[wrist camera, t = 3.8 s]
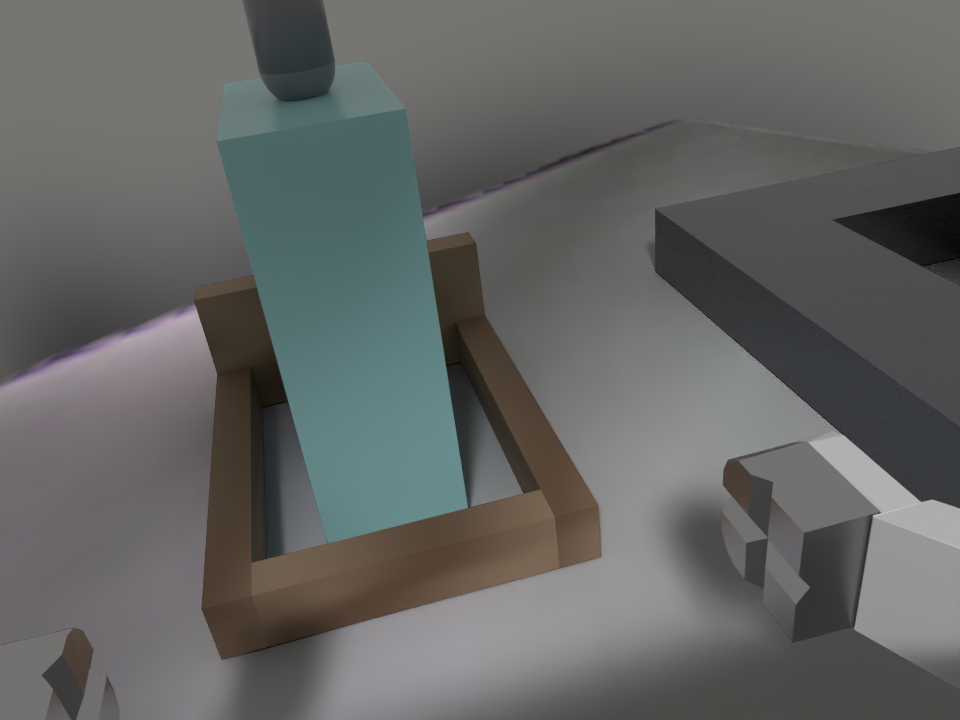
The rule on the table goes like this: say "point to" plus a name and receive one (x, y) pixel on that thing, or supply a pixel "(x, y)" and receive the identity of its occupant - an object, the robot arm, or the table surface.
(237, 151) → the plug
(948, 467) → the port block
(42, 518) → the table surface
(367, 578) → the open wooden frame
